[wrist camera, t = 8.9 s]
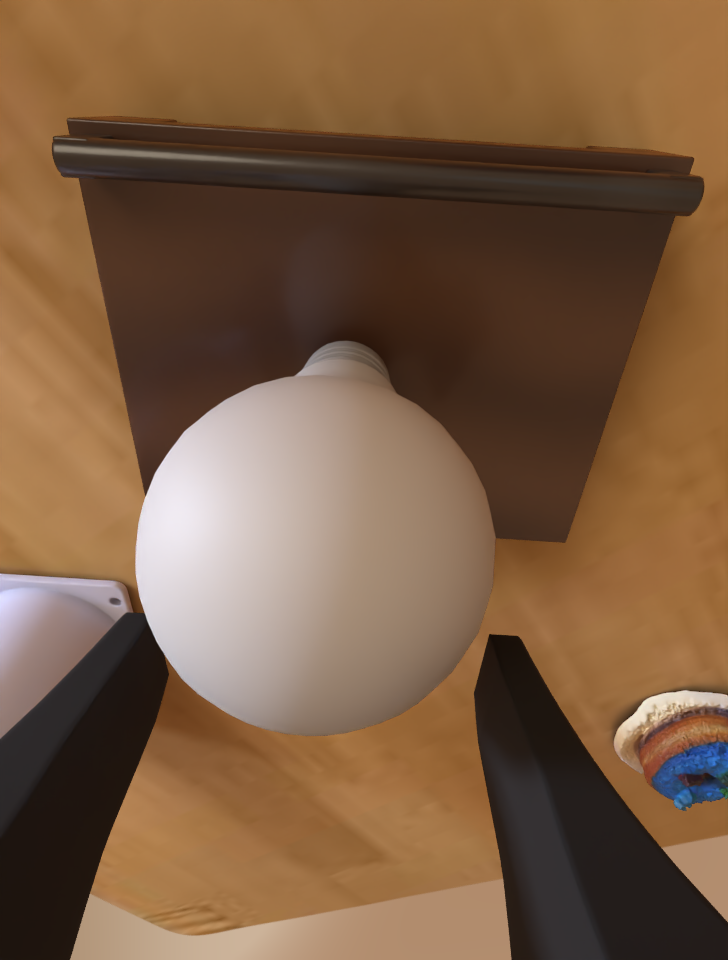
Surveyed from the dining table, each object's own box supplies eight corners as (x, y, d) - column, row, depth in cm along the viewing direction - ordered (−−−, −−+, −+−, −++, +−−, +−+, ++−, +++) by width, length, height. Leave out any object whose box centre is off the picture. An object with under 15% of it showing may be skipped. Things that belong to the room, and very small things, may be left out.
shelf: (547, 497, 22) (578, 574, 19) (173, 473, 22) (131, 545, 19) (649, 150, 15) (730, 163, 12) (113, 115, 15) (28, 118, 12)
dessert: (661, 684, 27) (773, 802, 24) (721, 641, 31) (826, 738, 28) (577, 755, 32) (661, 862, 29) (638, 711, 36) (718, 801, 32)
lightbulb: (217, 286, 15) (-41, 555, 6) (439, 244, 14) (523, 482, 5) (276, 470, 19) (168, 821, 9) (460, 444, 18) (534, 802, 9)
